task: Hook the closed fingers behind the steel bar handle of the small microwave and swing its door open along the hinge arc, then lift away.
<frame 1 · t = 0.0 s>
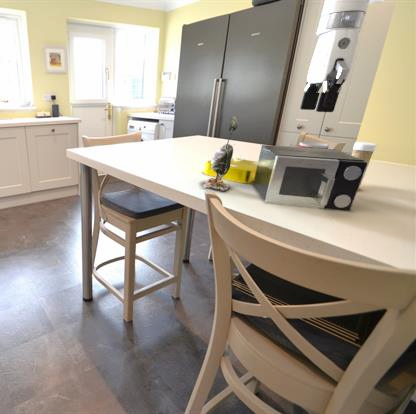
hand: (315, 110, 67), 22 cm above the table, tool pointing down, fingers open, 9 cm apart
microwave: (294, 195, 77), on the table
microwave door: (304, 185, 65), point 6 cm above the table, hinge at 0.0°
plant with pod: (215, 187, 83), on the table
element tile: (233, 175, 95), on the table
canned food: (304, 177, 95), on the table
sprinkles bottle: (348, 189, 83), on the table
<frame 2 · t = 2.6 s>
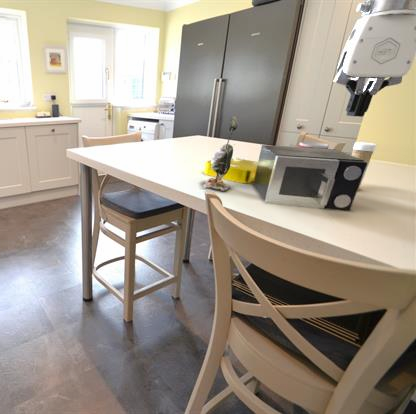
hand: (354, 115, 58), 22 cm above the table, tool pointing down, fingers closed
nothing on the table moved.
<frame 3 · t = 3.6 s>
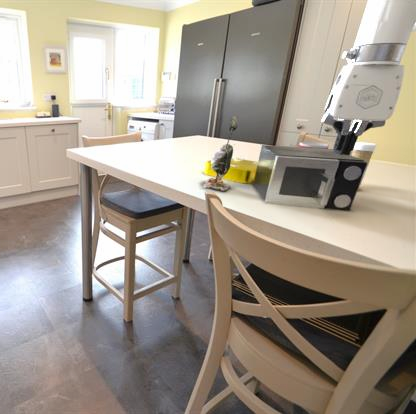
hand: (341, 153, 61), 14 cm above the table, tool pointing down, fingers closed
nothing on the table moved.
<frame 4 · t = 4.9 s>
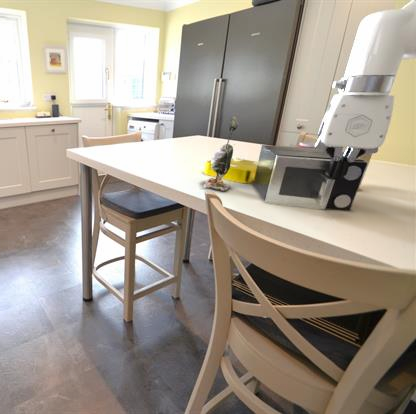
hand: (334, 178, 62), 9 cm above the table, tool pointing down, fingers closed
microwave door: (304, 186, 65), point 6 cm above the table, hinge at 3.6°, touching gripper
everything else where it was.
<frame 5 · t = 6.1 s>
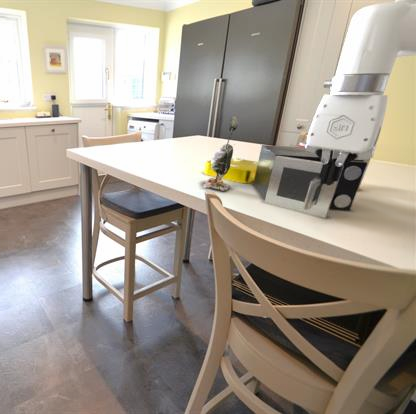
hand: (327, 183, 58), 9 cm above the table, tool pointing down, fingers closed
microwave door: (296, 188, 63), point 6 cm above the table, hinge at 31.4°, touching gripper
everything else where it was.
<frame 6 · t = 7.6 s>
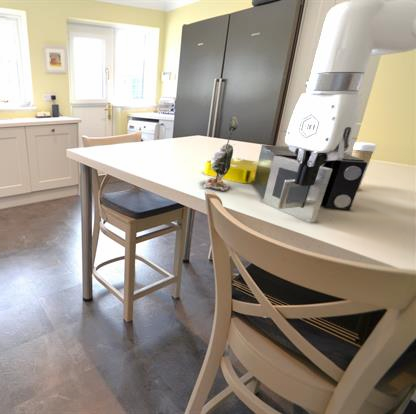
hand: (304, 184, 57), 9 cm above the table, tool pointing down, fingers closed
microwave door: (283, 188, 63), point 6 cm above the table, hinge at 57.6°
everything else where it was.
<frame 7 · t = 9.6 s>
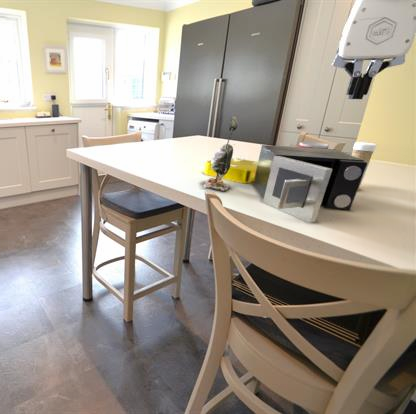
hand: (355, 98, 57), 25 cm above the table, tool pointing down, fingers closed
nothing on the table moved.
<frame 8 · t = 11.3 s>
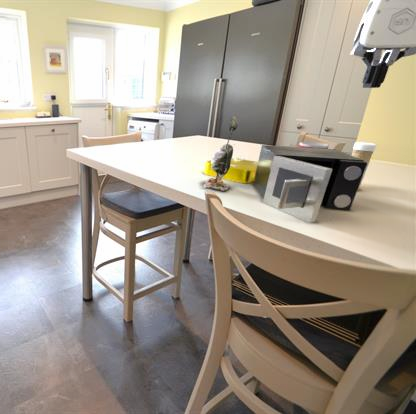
hand: (370, 87, 60), 27 cm above the table, tool pointing down, fingers closed
nothing on the table moved.
at the end: microwave door at +58° (first picture: +0°) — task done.
